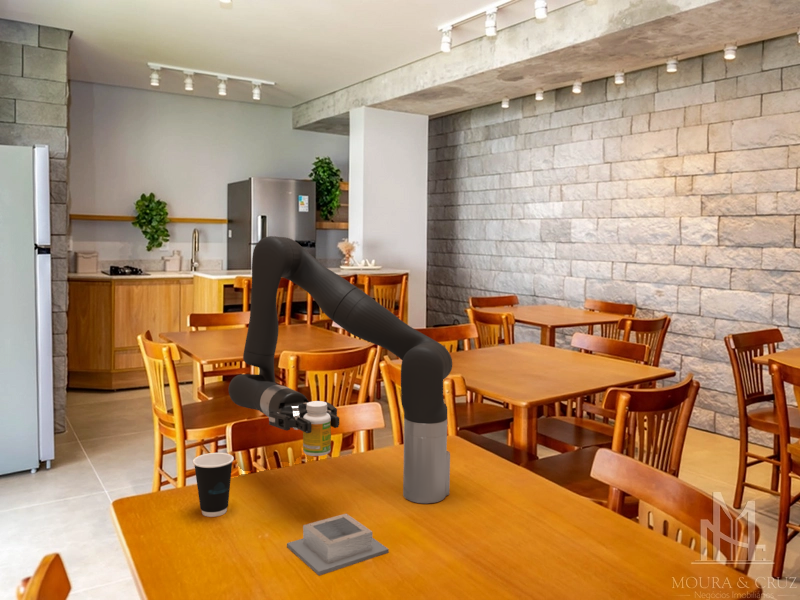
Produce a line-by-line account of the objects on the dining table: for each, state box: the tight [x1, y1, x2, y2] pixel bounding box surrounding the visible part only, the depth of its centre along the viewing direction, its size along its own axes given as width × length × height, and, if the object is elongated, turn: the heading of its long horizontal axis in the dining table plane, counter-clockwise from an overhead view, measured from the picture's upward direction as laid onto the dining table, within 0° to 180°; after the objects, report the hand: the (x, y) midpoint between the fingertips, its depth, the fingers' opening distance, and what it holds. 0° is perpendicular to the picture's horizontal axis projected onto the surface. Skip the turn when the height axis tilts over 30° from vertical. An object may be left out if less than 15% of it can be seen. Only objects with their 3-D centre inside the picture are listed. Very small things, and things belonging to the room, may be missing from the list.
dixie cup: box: [192, 452, 235, 518], centre depth 133 cm, size 8×8×11 cm
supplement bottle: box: [302, 400, 332, 457], centre depth 129 cm, size 5×5×10 cm
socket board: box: [286, 513, 390, 576], centre depth 118 cm, size 14×12×4 cm
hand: (323, 425), depth 126 cm, fingers closed on supplement bottle, 5 cm apart
